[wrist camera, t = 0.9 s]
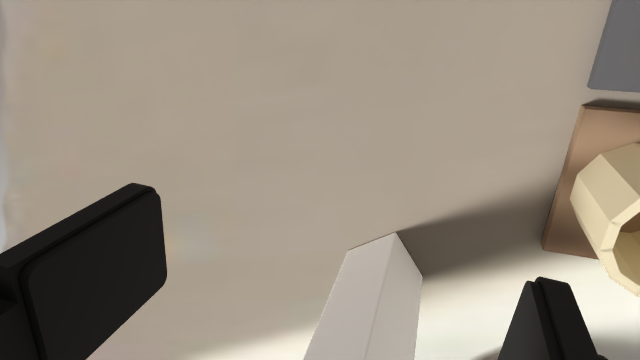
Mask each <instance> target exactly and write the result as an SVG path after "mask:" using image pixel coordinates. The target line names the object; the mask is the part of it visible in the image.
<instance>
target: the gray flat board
mask: <svg viewBox="0 0 640 360" xmlns="http://www.w3.org/2000/svg"><path fill="white" fill-rule="evenodd" d="M587 87H589V88H590V89H599V90H613V91H626V92H640V0H612V3H611V7H610V10H609V13H608V17H607V20H606V24H605V27H604V30H603V34H602V37H601V41H600V44H599V47H598V51H597V54H596V58H595V61H594V64H593V68H592V71H591V74H590V78H589V81H588V85H587Z"/></svg>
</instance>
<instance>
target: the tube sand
mask: <svg viewBox="0 0 640 360" xmlns="http://www.w3.org/2000/svg"><path fill="white" fill-rule="evenodd" d="M570 201H571V204H572V206H573V209H574V212H575V214H576V217H577V220H578V222H579V224H580V226H581V227H582V229H583V231H584V233H585V235H586V237H587V238H588V240H589V242H590V244H591V246H592V247H593V249H594V251H595V253H596V255H597V256H598V258H599V260H600V262H601V264H602V266H603V267H604V269H605V271H606V273H607V275H608V276H609V278H611V279H612V280H614V281H615V282H616V283H618V284H619V285H621V286H622V287H624V288H625V289H626V290H628V291H629V292H631V293H632V294H634V295H635V296H637V297H640V231H637V232H633V233H626V232H619V231H620V228H621V226H622V225H623V224H625V223H626V222H627V221H628V220H630V219H631V218H632V217H634V216H635V215H636V214H638V213H639V212H640V144H637V143H632V144H629V145H626V146H623V147H619V148H616V149H613V150H610V151H607V152H604V153H601V154H599V155H598V156H597V157H596V158H595V159H594V160H593V161H591V162H590V163H589V164H588V165H587V166H586V167H585V168H584V169H583V170H581V171H580V172H579V173H578V174H577V177H576V180H575V183H574V186H573V189H572V193H571V196H570Z"/></svg>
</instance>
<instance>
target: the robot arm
mask: <svg viewBox="0 0 640 360" xmlns="http://www.w3.org/2000/svg"><path fill="white" fill-rule="evenodd" d="M166 278H167V266H166V255H165V244H164V233H163V222H162V210H161V200H160V196H159V195H158V194H157V193H156V191H155V189H154V188H153V187H150V186H145V185H141V184H137V183H130V184H128V185H126V186H124V187H122V188H121V189H119V190H117V191H115V192H113V193H111V194H110V195H108V196H106V197H104V198H102V199H100V200H99V201H97V202H95V203H93V204H91V205H89V206H87V207H86V208H84V209H82V210H80V211H78V212H76V213H75V214H73V215H71V216H69V217H67V218H65V219H64V220H62V221H60V222H58V223H56V224H54V225H52V226H51V227H49V228H47V229H45V230H43V231H41V232H40V233H38V234H36V235H34V236H32V237H30V238H29V239H27V240H25V241H23V242H21V243H19V244H18V245H16V246H14V247H12V248H10V249H8V250H6V251H5V252H3V253H1V254H0V360H86V359H87V358H88V357H89V356H90V355H91V354H92V353H93V352H94V351H95V350H96V349H97V348H98V347H99V346H100V345H102V344H103V343H104V342H105V341H106V340H107V339H108V338H109V337H110V336H111V335H112V334H113V333H114V332H115V331H116V330H117V329H118V328H119V327H120V326H121V325H123V324H124V323H125V322H126V321H127V320H128V319H129V318H130V317H131V316H132V315H133V314H134V313H135V312H136V311H137V310H138V309H139V308H140V307H141V306H142V305H144V304H145V303H146V302H147V301H148V300H149V299H150V298H151V297H152V296H153V295H154V294H155V293H156V292H157V291H158V290H159V289H160V288H161V287H162V286H163V285H164V283H165V281H166ZM498 360H608V359H607V358H605V357H604V356H601V355H598V354H597V352H596V349H595V347H594V344H593V342H592V339H591V337H590V334H589V332H588V330H587V327H586V325H585V322H584V320H583V317H582V315H581V312H580V310H579V307H578V305H577V302H576V300H575V297H574V295H573V292H572V290H571V287H570V285H569V284H568V283H565V282H561V281H557V280H552V279H548V278H544V277H537V279H536V280H535V282H532V281H527V282H526V283H525V285H524V288H523V290H522V293H521V296H520V299H519V301H518V304H517V307H516V310H515V313H514V315H513V318H512V321H511V324H510V327H509V329H508V332H507V335H506V338H505V340H504V343H503V346H502V349H501V352H500V354H499V357H498Z"/></svg>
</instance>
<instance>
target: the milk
mask: <svg viewBox="0 0 640 360" xmlns="http://www.w3.org/2000/svg"><path fill="white" fill-rule="evenodd" d="M422 280H423V276H422V275H421V273H420V271H419V270H418V268H417V267H416V265H415V263H414V262H413V260H412V258H411V257H410V255H409V253H408V252H407V250H406V248H405V247H404V245H403V243H402V242H401V240H400V238H399V237H398V235H397V234H396V232H395V233H392V234H390V235H387V236H384V237H382V238H379V239H377V240H374V241H371V242H369V243H366V244H364V245H361V246H359V247H356V248H353V249H351V250H348V251H347V254H346V256H345V259H344V261H343V263H342V266H341V268H340V271H339V273H338V276H337V278H336V281H335V283H334V285H333V288H332V290H331V293H330V295H329V298H328V300H327V303H326V305H325V307H324V310H323V312H322V315H321V317H320V320H319V322H318V325H317V327H316V329H315V332H314V334H313V337H312V339H311V342H310V344H309V347H308V349H307V351H306V354H305V356H304V359H303V360H414V355H415V346H416V337H417V327H418V318H419V308H420V299H421V289H422Z"/></svg>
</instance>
